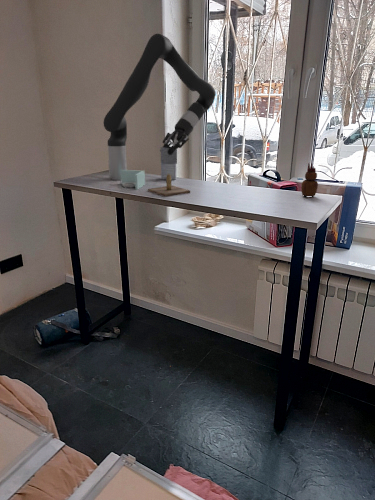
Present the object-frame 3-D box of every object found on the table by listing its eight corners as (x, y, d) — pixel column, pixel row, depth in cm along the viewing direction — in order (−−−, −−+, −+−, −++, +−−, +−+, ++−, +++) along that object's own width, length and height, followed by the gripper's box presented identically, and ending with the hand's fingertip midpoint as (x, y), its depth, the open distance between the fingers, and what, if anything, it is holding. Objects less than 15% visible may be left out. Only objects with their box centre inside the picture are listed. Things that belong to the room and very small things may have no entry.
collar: (160, 163, 167) (160, 147, 164) (170, 162, 170) (170, 146, 167) (167, 164, 163) (167, 148, 160) (177, 163, 166) (177, 147, 163)
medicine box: (176, 178, 203) (176, 162, 199) (175, 180, 198) (175, 163, 195) (162, 178, 203) (162, 162, 200) (161, 179, 199) (160, 163, 196)
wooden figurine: (301, 197, 163) (305, 163, 158) (299, 195, 169) (303, 161, 163) (317, 198, 162) (322, 163, 157) (314, 195, 168) (319, 162, 162)
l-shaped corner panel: (122, 184, 188) (121, 169, 185) (145, 185, 186) (144, 170, 183) (113, 189, 177) (112, 173, 174) (137, 190, 175) (137, 174, 172)
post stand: (147, 191, 172) (147, 173, 169) (172, 187, 180) (172, 170, 177) (165, 196, 162) (165, 178, 159) (190, 192, 170) (190, 174, 167)
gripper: (172, 117, 169) (151, 145, 166) (192, 118, 158) (170, 148, 156) (181, 129, 174) (161, 157, 171) (201, 130, 163) (180, 160, 161)
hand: (165, 152), depth 163 cm, fingers closed on collar, 5 cm apart
